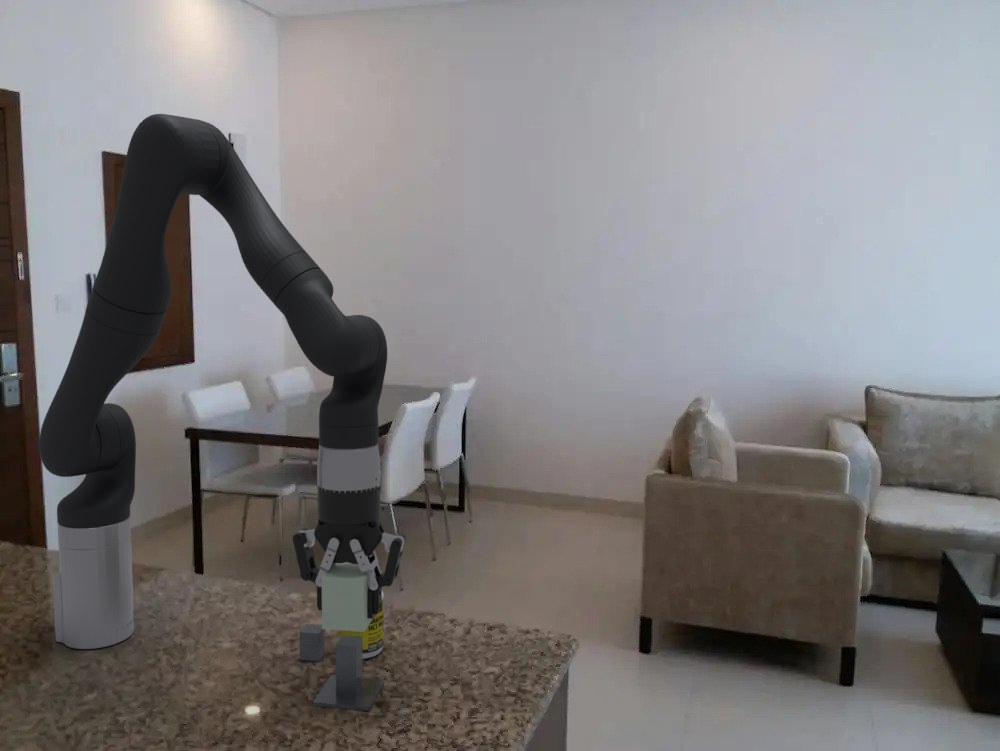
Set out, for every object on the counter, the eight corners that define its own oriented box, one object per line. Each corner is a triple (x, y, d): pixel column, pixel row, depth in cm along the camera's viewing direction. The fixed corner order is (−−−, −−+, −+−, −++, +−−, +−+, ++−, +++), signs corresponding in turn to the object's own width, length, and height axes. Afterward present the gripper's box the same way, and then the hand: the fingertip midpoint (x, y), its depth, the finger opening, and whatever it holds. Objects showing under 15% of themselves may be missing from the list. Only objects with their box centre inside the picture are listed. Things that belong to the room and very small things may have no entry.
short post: (299, 660, 113) (299, 632, 112) (306, 651, 115) (306, 624, 115) (318, 661, 113) (318, 633, 112) (324, 653, 115) (324, 625, 115)
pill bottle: (374, 663, 113) (374, 584, 111) (331, 657, 114) (331, 580, 113) (389, 643, 119) (390, 568, 117) (348, 638, 120) (348, 564, 119)
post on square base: (312, 705, 101) (312, 651, 100) (331, 678, 108) (331, 627, 107) (368, 710, 100) (368, 655, 99) (383, 682, 107) (384, 631, 106)
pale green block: (322, 628, 101) (321, 576, 100) (335, 611, 106) (335, 561, 105) (363, 631, 100) (363, 579, 99) (375, 614, 105) (375, 564, 104)
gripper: (280, 485, 98) (282, 623, 100) (399, 491, 96) (398, 631, 98) (303, 470, 105) (304, 599, 107) (414, 476, 104) (413, 606, 106)
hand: (349, 613), depth 103 cm, fingers closed on pale green block, 5 cm apart
